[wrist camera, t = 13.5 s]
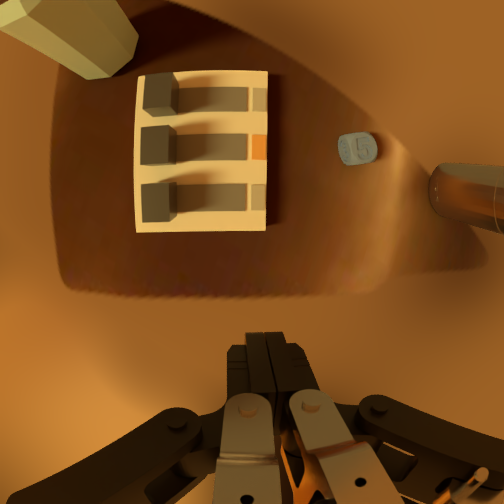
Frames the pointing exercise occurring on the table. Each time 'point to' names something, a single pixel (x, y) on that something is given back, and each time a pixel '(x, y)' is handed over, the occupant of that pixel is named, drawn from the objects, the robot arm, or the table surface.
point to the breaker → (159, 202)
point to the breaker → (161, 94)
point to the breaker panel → (211, 152)
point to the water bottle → (73, 32)
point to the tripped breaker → (158, 145)
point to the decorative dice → (357, 148)
